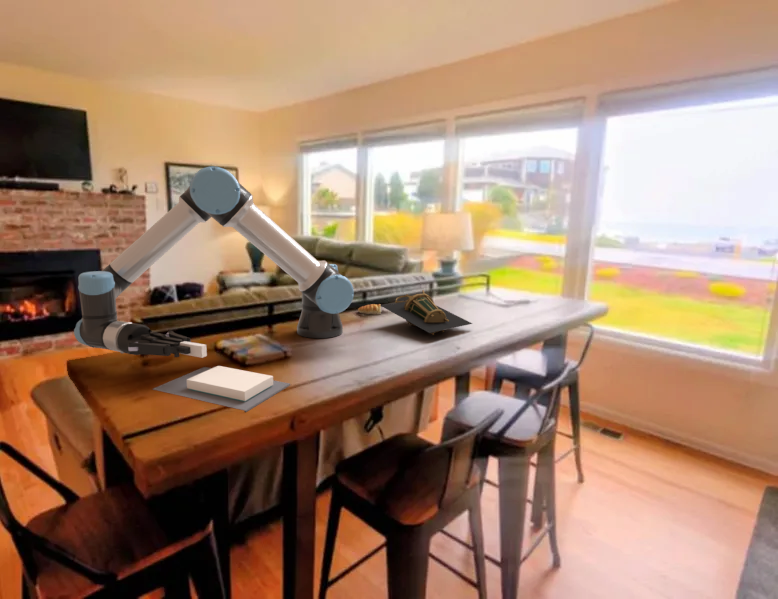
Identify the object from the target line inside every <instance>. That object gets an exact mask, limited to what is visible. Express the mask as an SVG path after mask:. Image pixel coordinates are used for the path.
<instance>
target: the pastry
mask: <svg viewBox="0 0 778 599" xmlns="http://www.w3.org/2000/svg"><path fill="white" fill-rule="evenodd" d="M380 305H382V304H380V303H378V304H375V303H372V304H371V303H370V304H366V305H362V306H360V307H359V308H357V312H359V313H360V314H362V315H363V314H364V315H376V316H377V315H381V314H382V306H380Z"/></svg>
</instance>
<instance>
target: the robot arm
mask: <svg viewBox="0 0 778 599" xmlns="http://www.w3.org/2000/svg"><path fill="white" fill-rule="evenodd" d="M211 218H212V219H213V220H215V221H216V222H217V223H218V224H219V225H221V226H222V227H223V228H233V229H234V230H235V231H237V232H238V233H239V234H240V235H241V236H243V238H244V239H246V240H247V241H248V242H250V243H251V244H252V245H253V246H254V247H255V248H256V249H258V250H259V251H260V252H261V253H263V254H264V255H265V256H266V257H267V258H268V259H270V260H271V261H272V262H273V263H274V264H276V266H278V267H280V269H282V271H284V272H285V273H286V274H287V275H289V276H290V277H291V279H293V280H295V281H296V282H297V284H298V290H299V291H300V292H301V313H300V316H299V320H298V323H297V325H296V334H297V335H299V336H300V337H303V338H304V337H305V338H311V339H330V338H333V337H335V338H336V337H337V336H340V335H342V334H343V332H344V330H343V329H344V328H343V326H344V325H343V322H342V319H341V316H340V313H343V312H344V311H346V309H348V308H349V307H350V305H351V304H352V302H353V300H354V296H355V290H354V286H353V284H352V282H351V280H349V278H348V277H346V276H344V275H342V274H341V273H340V272H339V269H338V268H339V267H338V265H337V264H335V263H328V262H327V261H326V260H317V259H316V258H315V257H314V255H312V254H311V253H310V252H309V251H307V250H306V249H305V248H304V247H303V246H302V245H300V243H298V242H297V241H296V240H295V239H294V238H293V237H292V236H290V235H289V234H288V233H287V232H286V231H285V230H284V229H283V228H281V227H280V225H278V224H277V223H276V222H275V221H274V220H273V219H271V218H270V217H269V216H268V215H267V214H266V213H265V212H263V211H262V209H261V208H259V207H258V205H256V204H255V203H254V195H253V194H252V193H251V192H250V191H249V190H248V189H246V188H245V187H244V186H243V185H242V184H241V183H240V182H239V181H238V179H237V178H236V177H235V175H234V174H232V173H231V171H228V169H226V168H223V167H219V166H212V165H210V166H205V167H203V168H201V169H199V170H198V171H197V172H196V173H194V176H193V177H192V178H191V180H190V184H189V186H188V188H186V190H185V191H184V192H183V193H182V194H181V195H179V196H178V203H176V204H175V205H174V206H173V207H172V208H171V209H170V210H169V211H167V213H165V214H164V215H163V216H162V217H161V218H159V220H157V221H156V222H155V223H154V224H153V225H152V226H151V227H149V228H148V229H147V230H146V231H145V232H144V233H143V234H141V236H140V237H138V238H137V239H136V240H135V241H134V242H133V243H132V244H130V245H129V246H128V247H127V248H126V249H125V250H123V252H122V253H120V254H119V255H118V256H117V257H116V258H115V259H114V260H113V261H111V262H110V264H107V266H106V267H105V268H103V270H98V271H96V270H94V271H85V272H82V273H80V274H79V275H78V278H77V279H78V286H77V288H78V292H79V299H80V308H81V316H82V317H81V319H79V320H78V321H77V322H76V324H75V328H74V329H73V334H74V337H75V340H77V341H78V343H80V344H81V345H85V346H88V347H90V348H95V349H102V350H103V349H104V350H108V351H109V350H110V351H114V352H118V353H119V352H120V353H119V354H128V355H134V356H139V355H146V356H147V355H150V356H161V357H162V356H163V357H170V356H171V355H174V358H180V355H184V356H190V357H191V356H192V357H195V358H200V359H201V358H202V359H203V358H205V357H207V356H208V352H207V351H208V350H207V344H204V343H199V342H192V340H191V337H189V336H188V337H187V336H185V335H183V334H179V333H176V332H174V331H173V330H169V331H167V333H166V334H163V333H160V332H157V331H152V330H151V329H150V327H148V326H147V325H146V324H140V323H133V322H129V321H128V322H127V321H122V320H121V321H120V320H118V311H117V300H116V299H117V298H118V297H119V296H120V295H121V294H122V293H123V292H124V291H126V289H128V288H129V287H130V286H131V285H132V284H133V283H134V282H135V281H136V280H137V279H139V277H141V275H143V274H144V273H145V272H146V271H147V270H149V269H150V268H151V267H152V266H153V265H154V264H155V263H156V262H158V260H160V259H161V258H162V257H163V256H164V255H165V254H167V253H168V252H169V251H170V250H171V249H172V248H174V246H175V245H177V243H178V242H180V241H181V240H182V239H183V238H184V237H186V235H187V234H189V233H190V232H191V231H192V230H193V229H194V228H195V227H197V225H199V224H200V223H207V221H209V219H211Z"/></svg>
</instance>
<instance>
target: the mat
mask: <svg viewBox="0 0 778 599" xmlns="http://www.w3.org/2000/svg"><path fill="white" fill-rule="evenodd" d="M212 368H213V367H212ZM212 368H211V367H208V366H207V367H206V366H203V367H201V368H199V369H196V370H194V371H191V372H190V373H187V374H184V375H182V376H179V377H177V378H174V379H172V380H170V381H168V382H165V383H163V384H160V385H158V386H156V387H153V388H152V390H153V391H158V392H163V393H167V394H169V395H170V394H171V395H174V396H175V395H176V396H180V397H185V398H189V399H193V400H196V401H197V400H198V401H202V402H206V403H211V404H214V405H219V406H224V407H228V408H233V409H236V410H241V411H243V413H247V412H249V411H251V410H253V408H256V407H257V406H259V405H261V404H263V403H264V402H266V401H267V400H269V399H271V398H272V397H274V396H275V395H277V394H278V393H280V392H281V391H283V390H285V389H287V388H288V387H289V386H291V383H288V382H283V381H280V380H279V381H278V380H274V379H273V385H272V386H271V387H270V388H268V389H266V390H265V391H263V392H261V393H259V394H258V395H256V396H254V397H252V398H251V399H249V400H247V401H246V402H243V401H238V400H234V399H229V398H225V397H220V396H216V395H211V394H207V393H202V392H198V391H193V390H189V389H188V388H187V379H189V378H191V377H193V376H196V375H198V374H200V373H203V372H205V371H207V370H210V369H212Z"/></svg>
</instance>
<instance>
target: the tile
mask: <svg viewBox="0 0 778 599" xmlns="http://www.w3.org/2000/svg"><path fill="white" fill-rule="evenodd" d="M273 380H274V375H270V374H264V373H259V372H253V371H248V370H242V369H238V368H233V367H227V366H223V365H217V366H213V367H212V369H210V370H207V371H205V372H203V373H200V374H198V375H196V376H193V377H191V378H189V379H187V388H188V389H189V390H193V391H198V392H202V393H207V394H211V395H216V396H220V397H225V398H229V399H234V400H238V401H243V402H246V401H247V400H249V399H251V398H252V397H254V396H256V395H258V394H259V393H261V392H263V391H265V390H266V389H268V388H270V387H271V386H272V385H273Z"/></svg>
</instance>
